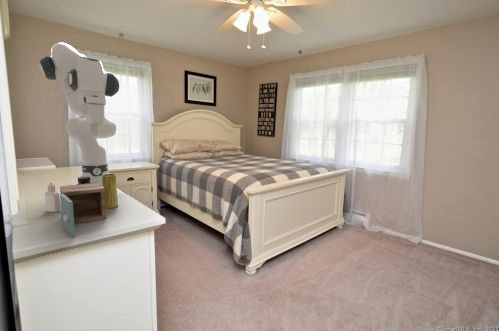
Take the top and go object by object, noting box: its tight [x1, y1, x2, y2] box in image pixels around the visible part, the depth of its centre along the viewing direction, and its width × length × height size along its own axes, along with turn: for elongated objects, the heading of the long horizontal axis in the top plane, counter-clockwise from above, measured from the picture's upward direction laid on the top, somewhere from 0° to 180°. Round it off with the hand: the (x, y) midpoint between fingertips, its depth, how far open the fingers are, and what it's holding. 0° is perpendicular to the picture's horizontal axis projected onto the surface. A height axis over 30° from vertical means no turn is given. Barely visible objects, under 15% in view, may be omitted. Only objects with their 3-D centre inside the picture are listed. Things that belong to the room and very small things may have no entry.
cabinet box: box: [59, 183, 107, 225], centre depth 100 cm, size 12×13×12 cm
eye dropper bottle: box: [44, 181, 61, 213], centre depth 107 cm, size 4×6×12 cm
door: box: [59, 193, 76, 238], centre depth 86 cm, size 2×13×11 cm, turn 45°
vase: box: [102, 173, 119, 210], centre depth 114 cm, size 6×6×14 cm
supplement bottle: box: [76, 176, 91, 185], centre depth 118 cm, size 7×7×12 cm
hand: (94, 135), depth 105 cm, fingers closed
